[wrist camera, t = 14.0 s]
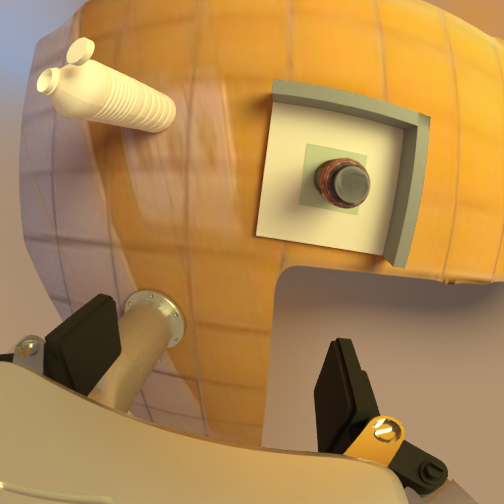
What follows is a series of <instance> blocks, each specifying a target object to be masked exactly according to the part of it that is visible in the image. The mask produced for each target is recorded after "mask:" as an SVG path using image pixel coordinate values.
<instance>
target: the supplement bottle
mask: <svg viewBox="0 0 504 504" xmlns="http://www.w3.org/2000/svg"><path fill="white" fill-rule="evenodd" d="M314 185H315V188H316V190H317V192H318V193H319V194H320V195H321V196H322V197H323V198H324V199H326V200H327V201H329V202H330V203H331V204H333V205H335V206H337V207H339V208H344V209H350V208H354V207H357V206H359V205H360V204H362V203H363V202H364V201H365V199H366V198H367V196H368V194H369V191H370V177H369V174H368V172H367V170H366V169H365V168H364V166H363V165H362V164H361V163H359V162H358V161H356V160H353V159H350V158H338V159H332V160H328V161H325V162H323V163H322V164H321V165H320V166H319V167H318V168H317V169H316V172H315V174H314Z"/></svg>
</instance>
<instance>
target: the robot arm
mask: <svg viewBox="0 0 504 504" xmlns="http://www.w3.org/2000/svg"><path fill="white" fill-rule="evenodd" d="M124 313H125V314H124V315H123V316H122V317H121V318H120V319H119V320H117V311H116V303H115V301H114V300H113V298H112V297H111V296H108V295H104V294H98V295H97V296H96V297H94V298H93V299H92V300H90V301H89V302H88V303H87V304H85V305H84V306H83V307H81V308H80V309H79V310H78V311H76V312H75V313H74V314H73V315H71V316H70V317H69V318H68V319H66V320H65V321H64V322H63V323H61V324H60V325H59V326H58V327H57V328H55V329H54V330H53V331H52V332H50V333H49V334H48V335H47V336H46V337H45V340H46V342H45V341H44V340H43V339H42V338H40V337H38V336H35V335H29V336H25V337H23V338H22V339H20V340H19V341H18V342H17V343H16V344H14V346H12V348H11V349H10V350H9V351H8V352H7V353H6V354H1V355H0V504H478V503H477V502H476V501H475V500H474V499H473V498H472V497H471V496H470V495H469V494H468V493H466V491H465V490H464V489H462V488H461V487H460V486H459V485H458V484H457V483H456V482H455V481H454V480H451V481H449V480H448V479H447V477H448V470H447V467H446V465H445V464H444V463H443V462H442V461H441V460H439V459H437V458H435V457H434V456H432V455H430V454H428V453H426V452H424V451H422V450H421V449H419V448H417V447H415V446H414V445H412V444H410V443H409V442H407V441H405V440H404V437H405V429H404V427H403V425H402V424H401V423H400V422H399V421H398V420H396V419H395V418H392V417H390V416H380V413H379V410H378V406H377V403H376V400H375V397H374V394H373V391H372V388H371V385H370V381H369V379H368V376H367V373H366V372H365V371H364V370H363V371H362V370H361V367H360V365H359V362H358V359H357V356H356V353H355V349H354V347H353V344H352V341H351V339H345V338H337V339H336V340H335V341H331V343H330V346H329V349H328V352H327V355H326V358H325V361H324V364H323V367H322V370H321V372H320V375H319V378H318V380H317V383H316V386H315V389H314V400H315V412H316V426H317V439H318V452H308V451H307V452H306V451H293V450H282V449H274V448H266V447H258V446H251V445H244V444H238V443H232V442H227V441H222V440H217V439H212V438H207V437H203V436H199V435H195V434H191V433H187V432H183V431H179V430H176V429H172V428H169V427H165V426H162V425H159V424H155V423H152V422H149V421H146V420H143V419H140V418H138V417H135V416H132V415H129V414H127V412H128V410H129V408H130V406H131V404H132V402H133V401H134V399H135V397H136V395H137V394H138V392H139V390H140V389H141V387H142V386H143V384H144V382H145V381H146V379H147V378H148V376H149V374H150V373H151V371H152V370H153V368H154V366H155V365H156V363H160V362H161V355H162V354H163V352H164V350H165V349H167V348H171V347H173V346H175V345H177V344H178V343H179V342H180V340H181V339H182V337H183V335H184V332H185V321H184V317H183V315H182V312H181V311H180V309H179V308H178V306H177V305H176V304H175V303H174V302H173V301H172V300H171V299H170V298H169V297H167V296H166V295H164V294H162V293H160V292H158V291H154V290H148V289H145V290H139V291H137V292H135V293H134V294H132V295H131V296H130V297H129V298H128V300H127V301H126V304H125V310H124Z"/></svg>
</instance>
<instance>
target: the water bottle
mask: <svg viewBox="0 0 504 504" xmlns="http://www.w3.org/2000/svg"><path fill="white" fill-rule="evenodd" d="M93 51H94V43H93V41H91V40H89V39H87V38H80V39H78V40H77V41H75V42H74V43H73V44H72V45H71V47H70V48H69V50H68V53H67V62H68V63H69V65H67V66H65V67H63V68H61V69H59V68H53V69H51V68H48V69H46V70H45V71H43V73H42V74H41V75H40V77H39V79H38V82H37V90H38V91H39V92H41V93H42V94H43V95H45V96H47V95H48V96H49V98H50V100H51V102H52V104H53V106H54V108H55V110H56V111H57V112H58V113H59V114H60V115H62V116H64V117H66V118H70V119H80V120H87V121H93V122H100V123H106V124H111V125H117V126H122V127H127V128H133V129H138V130H142V131H147V132H151V133H157V132H161V131H163V130H165V129H167V128H168V127H169V126H170V125H171V123H172V122H173V120H174V118H175V114H176V111H175V110H176V107H175V104H174V102H173V101H172V99H171V98H169V97H168V96H166V95H164V94H162V93H160V92H158V91H156V90H155V89H153V88H151V87H149V86H147V85H145V84H143V83H141V82H139V81H137V80H135V79H133V78H131V77H128V76H126V75H124V74H122V73H120V72H118V71H116V70H113V69H112V68H109V67H107V66H105V65H103V64H101V63H99V62H97V61H94V60H89V58H90V57H91V55H92V54H93ZM90 52H91V53H90ZM89 54H90V55H89ZM87 57H88V58H87ZM86 58H87V59H86Z"/></svg>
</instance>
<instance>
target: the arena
mask: <svg viewBox="0 0 504 504" xmlns="http://www.w3.org/2000/svg"><path fill="white" fill-rule="evenodd" d="M272 98H273V107H272V115H271V123H270V131H269V138H268V146H267V154H266V162H265V169H264V177H263V185H262V192H261V200H260V208H259V215H258V223H257V231H256V236H262V237H269V238H276V239H282V240H289V241H295V242H302V243H308V244H314V245H321V246H327V247H333V248H339V249H345V250H351V251H358V252H364V253H370V254H375V255H381V256H383V257H384V258H385V259H386V260H387V261H388V262H389V263H390V264H391V265H392V266H393V267H399V268H405V266H406V263H407V259H408V255H409V251H410V248H411V244H412V240H413V235H414V231H415V227H416V222H417V217H418V212H419V207H420V202H421V196H422V191H423V184H424V178H425V171H426V163H427V154H428V144H429V132H430V117H429V116H426V115H424V114H421V113H418V112H416V111H413V110H410V109H407V108H404V107H401V106H398V105H395V104H392V103H388V102H385V101H382V100H378V99H375V98H371V97H367V96H364V95H360V94H356V93H351V92H347V91H343V90H338V89H333V88H328V87H323V86H317V85H312V84H305V83H299V82H292V81H284V80H275V79H273V86H272ZM338 158H350V159H353V160H356V161H358V162H359V163H361V164H362V165H363V166H364V168H365V169H366V170H367V172H368V174H369V177H370V191H369V194H368V196H367V198H366V199H365V201H364V202H363V203H362V204H360V205H359V206H357V207H354V208H350V209H344V208H339V207H337V206H335V205H333V204H331V203H330V202H329V201H327V200H326V199H324V198H323V197H322V196H321V195H320V194H319V193H318V192H317V190H316V188H315V185H314V174H315V172H316V169H317V168H318V167H319V166H320V165H321V164H322V163H323V162H325V161H328V160H332V159H338Z"/></svg>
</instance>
